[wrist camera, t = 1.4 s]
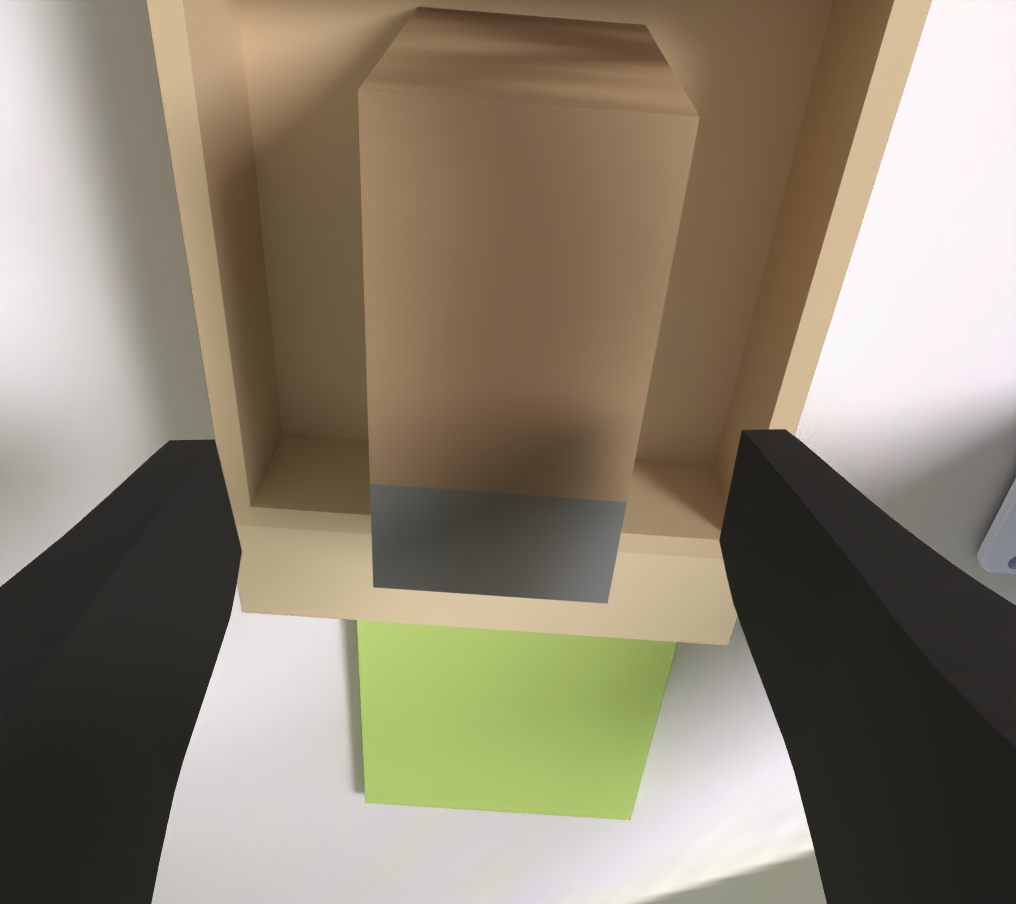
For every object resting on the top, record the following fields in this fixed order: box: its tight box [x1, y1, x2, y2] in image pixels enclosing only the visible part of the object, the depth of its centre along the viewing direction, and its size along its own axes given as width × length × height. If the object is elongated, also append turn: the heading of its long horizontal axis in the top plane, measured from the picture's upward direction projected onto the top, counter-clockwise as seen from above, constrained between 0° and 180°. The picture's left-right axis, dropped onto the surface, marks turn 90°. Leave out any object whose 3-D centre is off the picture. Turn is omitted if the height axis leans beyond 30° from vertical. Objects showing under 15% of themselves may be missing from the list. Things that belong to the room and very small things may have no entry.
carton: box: [147, 0, 932, 646], centre depth 19 cm, size 13×19×4 cm
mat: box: [357, 620, 677, 820], centre depth 29 cm, size 10×12×1 cm
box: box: [358, 7, 700, 604], centre depth 17 cm, size 4×9×7 cm, turn 176°
